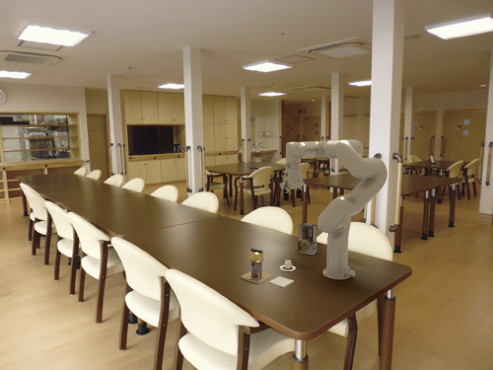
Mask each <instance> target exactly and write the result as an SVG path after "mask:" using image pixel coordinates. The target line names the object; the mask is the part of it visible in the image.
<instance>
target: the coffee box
mask: <svg viewBox="0 0 493 370" xmlns="http://www.w3.org/2000/svg"><path fill="white" fill-rule="evenodd" d="M297 230H298V233H297V234H298V235H297V242H298V243H297V254H303V255H308V256H314V255H315V254H317V247H318V246H317V242H318V241H317V240H318V239H317V238H318V237H317V236H318V224H315V223H308V222H307V223H305V222H301V223H300V224H299V225H297Z"/></svg>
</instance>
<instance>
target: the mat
mask: <svg viewBox="0 0 493 370" xmlns="http://www.w3.org/2000/svg"><path fill="white" fill-rule="evenodd" d="M294 282H295V281H294V280H293V279H289V278H286V277H283V276H281V275H279V276H277V277H275V278H274V279H271V280H270V281H268V283H269V284H271V285H272V286H273V285H274V286H276V287H280V288H282V289H283V288H286V287H289V286H290V285H292V284H293V283H294Z"/></svg>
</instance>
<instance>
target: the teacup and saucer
mask: <svg viewBox="0 0 493 370" xmlns="http://www.w3.org/2000/svg"><path fill="white" fill-rule="evenodd" d="M291 268H292V269H291ZM279 269H280V270H282V271H286V272H293V271H295V270H296V266H294V265H293V264H292V260H290V259H285V260H284V264H283V265H280V266H279Z"/></svg>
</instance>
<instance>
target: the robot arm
mask: <svg viewBox="0 0 493 370" xmlns="http://www.w3.org/2000/svg"><path fill="white" fill-rule="evenodd" d="M363 152H364V146H363V143H362V142H361V141H359V140H358V139H329V140H327V141H299V142H298V141H290V142H286V144H285V164H284V165H285V169H284V174H283V182H282V183H281V184H280V186H279V187H280V189H281V192H282V193H283V198H282V199H283V201H285V202H289V201H290V193H289V191H290V190H295V189H296V191H295V198H296V199H302V192H303V189H304V187H305V181H304V180H303V179H304V178H303V171H302V168H301V165H302V164H301V163H302V162H301V160H302V158H309V157H310V158H313V157H323V158H324V157H325V158H327V159H330V160H331V159H333V160H338V161H339V163H340V164H341V165H342V166H343V167H344V168H345V169H346V170H347V171H348V173H349V174H351V176H353V177H354V178H356V179H358V180H361V181H360V182H358V183H357V185H356V186H355V187H354V188H353V189H352V190H351V191H350V192H349V193H347V194H343V195H339V196H337V197H336V198H334V199H333V200H331V201H330V203H329V204H328V205H327V206H326V208H324V210H322V212H321V213H319V216H318V218H317V224H316V225H317V228H318V229H319V230H320V231H321V232H322V233H325V234H327V237H326V238H327V239H326V264H325V265H326V268H324V269H323V271H322V275H323V276H324V277H326V278H328V279H331V280H337V281H338V280H341V281H342V280H347V279H349V278H350V277H355V276H356V271H355V270H353V269H351V268H350V266H349V265H348V260H349V259H348V256H349V252H348V251H349V235H350V230H351V224H352V217H353V216H356V215H358V214H359V213H360V212H361V211H362V210H363V209H364V208H365V207H366V206H367V205H368V203H370V202H371V200H373V198H375V196H376V195H377V194H378V193H379V192H380V191H381V190H382V189H383V188H384V186H385V184H386V182H387V179H388V168H387V165H386V163H385V162H384V161H383V160H382V159H381V158H377V157H364V158H363V156H362V155H363Z"/></svg>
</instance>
